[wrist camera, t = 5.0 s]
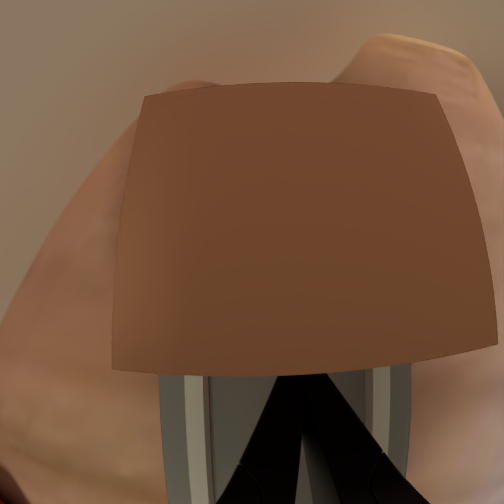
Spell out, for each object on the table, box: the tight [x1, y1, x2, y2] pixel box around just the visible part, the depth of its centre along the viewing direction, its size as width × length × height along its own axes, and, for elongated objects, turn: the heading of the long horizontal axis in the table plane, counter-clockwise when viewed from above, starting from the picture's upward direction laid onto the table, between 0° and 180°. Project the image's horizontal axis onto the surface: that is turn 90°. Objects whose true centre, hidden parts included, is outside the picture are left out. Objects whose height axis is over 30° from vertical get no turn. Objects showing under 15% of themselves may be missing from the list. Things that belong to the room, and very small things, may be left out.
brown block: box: [112, 82, 498, 377], centre depth 9 cm, size 5×6×10 cm
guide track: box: [159, 363, 411, 504], centre depth 12 cm, size 20×12×6 cm, turn 1°
